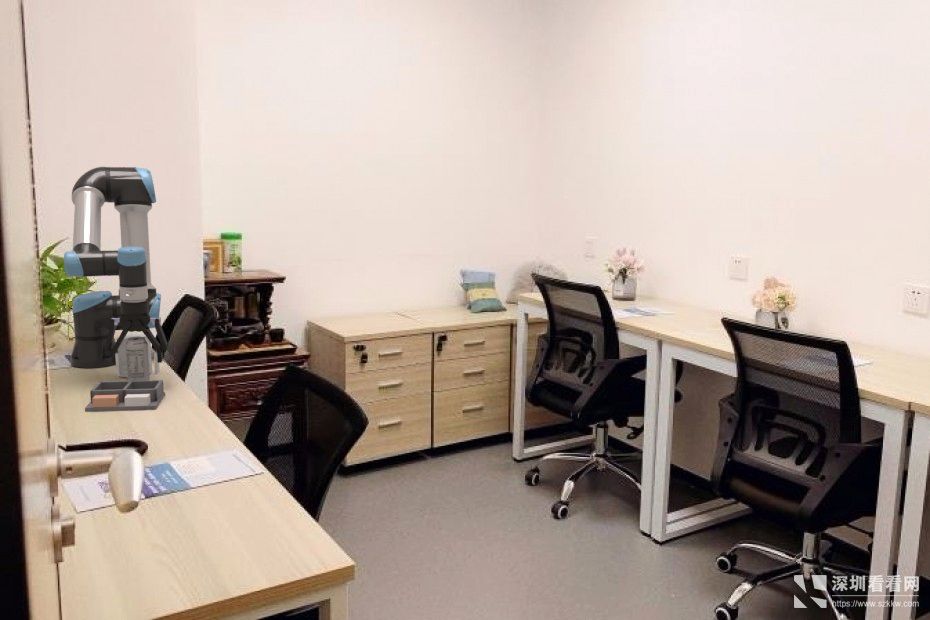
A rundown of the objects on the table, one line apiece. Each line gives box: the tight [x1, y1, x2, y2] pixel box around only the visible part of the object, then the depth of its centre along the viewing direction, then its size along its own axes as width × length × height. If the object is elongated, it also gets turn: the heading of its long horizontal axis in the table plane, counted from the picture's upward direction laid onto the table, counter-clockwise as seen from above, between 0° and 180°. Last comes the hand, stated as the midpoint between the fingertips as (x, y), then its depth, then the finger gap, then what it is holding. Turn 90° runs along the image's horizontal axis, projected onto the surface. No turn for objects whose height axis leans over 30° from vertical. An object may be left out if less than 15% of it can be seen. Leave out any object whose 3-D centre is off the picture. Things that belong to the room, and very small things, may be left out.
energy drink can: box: [126, 337, 150, 381], centre depth 228 cm, size 6×6×15 cm
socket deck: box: [84, 379, 166, 412], centre depth 214 cm, size 13×18×4 cm
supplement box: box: [116, 332, 153, 378], centre depth 241 cm, size 7×7×13 cm
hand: (138, 373), depth 228 cm, fingers open, 10 cm apart
